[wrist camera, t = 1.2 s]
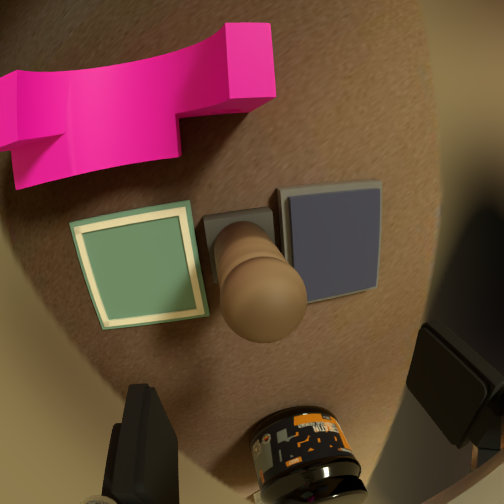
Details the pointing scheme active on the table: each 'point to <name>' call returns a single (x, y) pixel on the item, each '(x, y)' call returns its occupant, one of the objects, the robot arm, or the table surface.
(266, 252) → the stamp
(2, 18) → the table surface
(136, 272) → the mat
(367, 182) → the ink pad
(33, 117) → the toy block
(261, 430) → the supplement container
